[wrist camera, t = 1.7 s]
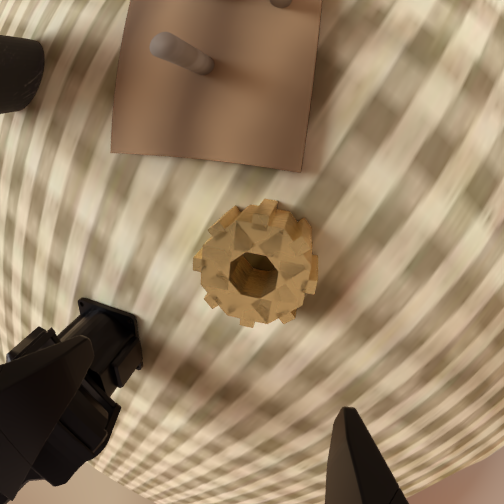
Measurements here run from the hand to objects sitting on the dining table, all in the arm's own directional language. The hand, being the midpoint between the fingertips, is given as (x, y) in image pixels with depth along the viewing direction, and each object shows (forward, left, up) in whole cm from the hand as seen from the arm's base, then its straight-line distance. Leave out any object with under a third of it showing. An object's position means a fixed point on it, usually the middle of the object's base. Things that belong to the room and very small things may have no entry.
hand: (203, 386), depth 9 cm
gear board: (-5, +14, -12) cm, 19 cm away
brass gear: (0, 0, -12) cm, 12 cm away
